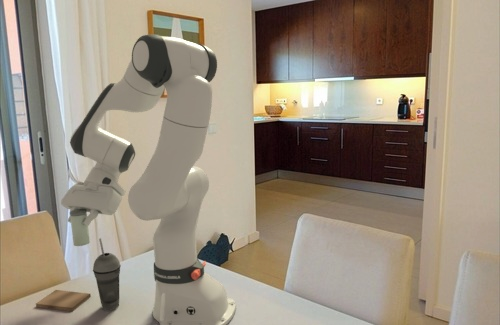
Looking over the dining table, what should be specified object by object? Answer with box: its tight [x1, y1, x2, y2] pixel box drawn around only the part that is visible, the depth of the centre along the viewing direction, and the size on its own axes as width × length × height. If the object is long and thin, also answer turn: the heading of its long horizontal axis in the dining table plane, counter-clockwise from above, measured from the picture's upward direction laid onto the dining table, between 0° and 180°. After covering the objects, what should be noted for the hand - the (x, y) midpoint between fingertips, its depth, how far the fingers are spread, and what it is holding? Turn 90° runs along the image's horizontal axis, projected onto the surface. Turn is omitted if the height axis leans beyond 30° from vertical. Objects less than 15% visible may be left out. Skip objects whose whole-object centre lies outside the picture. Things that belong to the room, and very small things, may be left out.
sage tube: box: [69, 209, 91, 247], centre depth 120 cm, size 5×5×10 cm
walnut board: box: [35, 289, 92, 312], centre depth 116 cm, size 12×8×1 cm, turn 76°
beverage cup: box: [92, 238, 122, 312], centre depth 111 cm, size 7×7×20 cm
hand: (77, 223), depth 119 cm, fingers closed on sage tube, 4 cm apart
